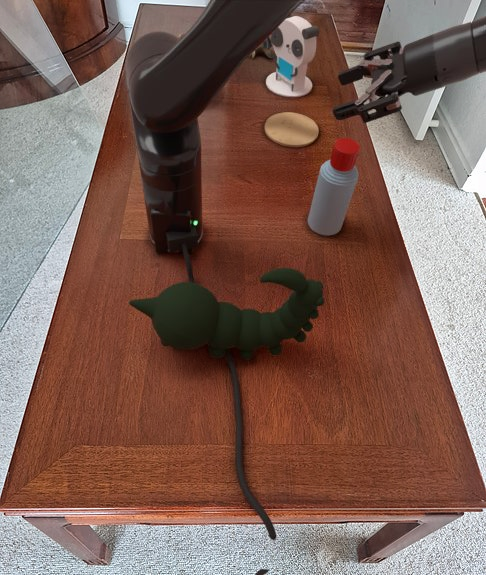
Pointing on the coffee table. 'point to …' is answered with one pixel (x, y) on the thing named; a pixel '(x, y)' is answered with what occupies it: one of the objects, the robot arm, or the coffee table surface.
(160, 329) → the toy figurine
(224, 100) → the coffee table surface
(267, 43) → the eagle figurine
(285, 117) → the coaster
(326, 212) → the bottle
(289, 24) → the panda figurine
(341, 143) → the bottle cap
